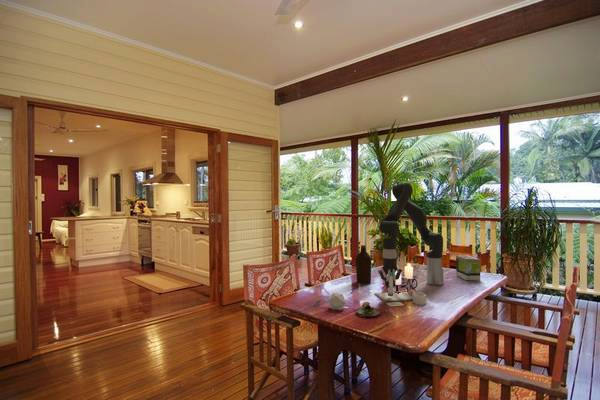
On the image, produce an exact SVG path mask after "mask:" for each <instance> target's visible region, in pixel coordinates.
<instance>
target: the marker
mask: <svg viewBox="0 0 600 400" xmlns="http://www.w3.org/2000/svg"><path fill="white" fill-rule="evenodd" d="M388 281H389V288H387V292H388V296H393V292H394V288H393V272H390V275H389V279H388Z"/></svg>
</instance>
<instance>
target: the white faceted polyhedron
mask: <svg viewBox="0 0 600 400" xmlns="http://www.w3.org/2000/svg"><path fill="white" fill-rule="evenodd" d="M328 303H329V306H330V308H331V310H334V311H335V310H336V311H342V310H343V308H344V307H345V305H346V304H347V302H346V299H345V296H344V294H343V293H336V292H333V293H332V294H331V296H330V298H328Z"/></svg>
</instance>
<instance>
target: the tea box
mask: <svg viewBox="0 0 600 400" xmlns="http://www.w3.org/2000/svg"><path fill="white" fill-rule="evenodd" d="M455 257H456V258H455V269H456V270H455V275H456V276H457V277H459V278H461V279H462V280H465V281H467V280H479V281H481V259H480V258H478V257H475V256H472V255H469V254H468V255H455Z"/></svg>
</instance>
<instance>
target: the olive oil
mask: <svg viewBox="0 0 600 400" xmlns="http://www.w3.org/2000/svg"><path fill="white" fill-rule="evenodd" d="M366 247H367V246H366V245H364V244H362V245H360V252H359V253H358V254H357V255H356V256H355V274H356V283H357V284H359V285H369V284H372V256H371V255H370V254H369V253H368V252H367V248H366Z"/></svg>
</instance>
